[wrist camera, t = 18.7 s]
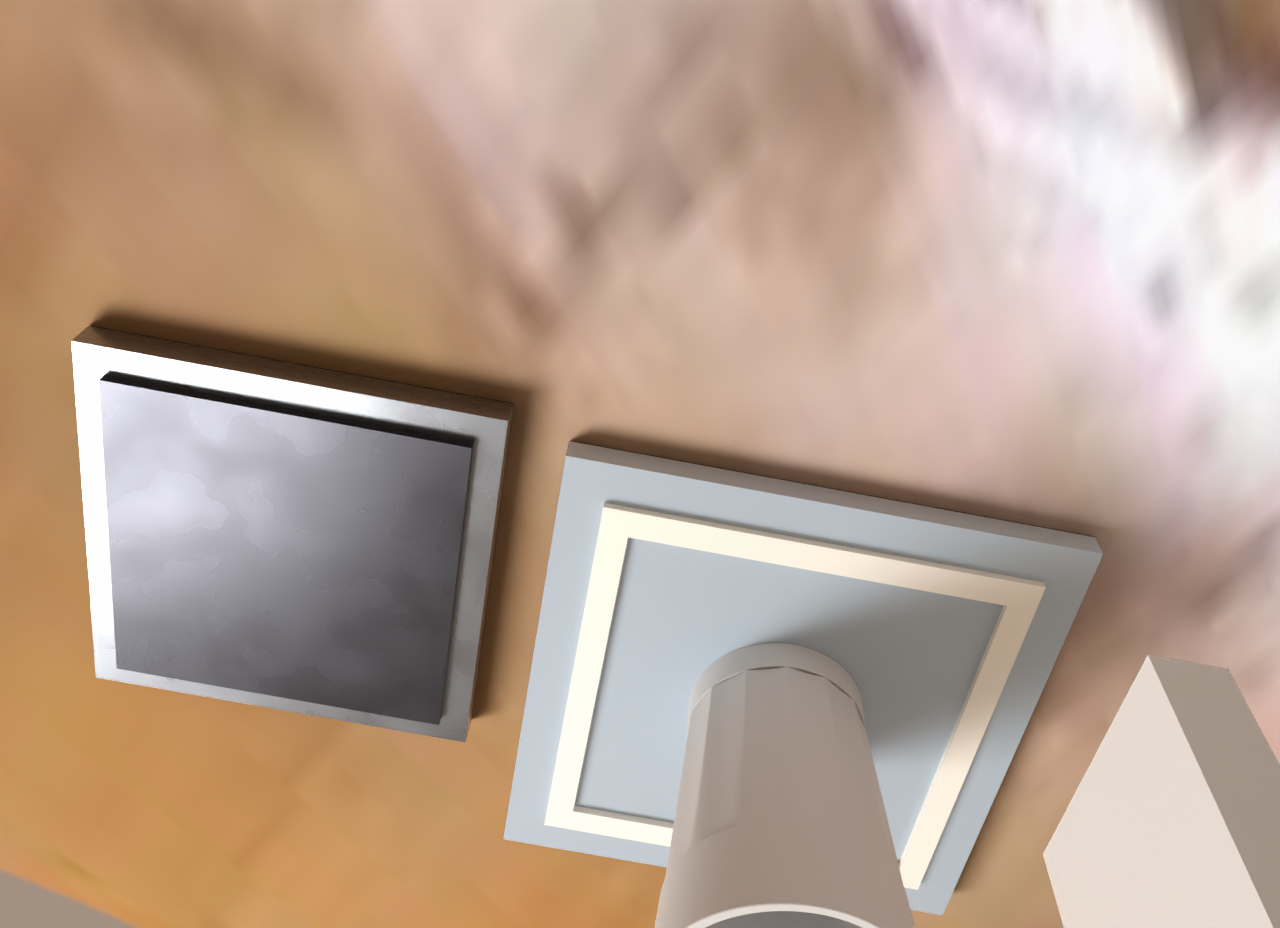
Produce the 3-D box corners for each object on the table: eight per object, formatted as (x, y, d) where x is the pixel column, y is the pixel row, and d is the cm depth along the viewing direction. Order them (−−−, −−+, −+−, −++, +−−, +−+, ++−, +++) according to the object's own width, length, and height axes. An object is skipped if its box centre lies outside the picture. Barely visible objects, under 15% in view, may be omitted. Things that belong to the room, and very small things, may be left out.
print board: (507, 820, 49) (502, 844, 48) (569, 441, 40) (564, 460, 39) (938, 895, 50) (943, 921, 49) (1095, 537, 41) (1105, 559, 40)
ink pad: (110, 657, 46) (91, 684, 45) (88, 325, 39) (65, 346, 38) (471, 720, 47) (463, 749, 45) (513, 403, 40) (505, 426, 38)
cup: (827, 592, 41) (857, 868, 31) (921, 749, 45) (976, 1047, 34) (626, 673, 44) (591, 954, 33) (728, 816, 47) (726, 1114, 37)
